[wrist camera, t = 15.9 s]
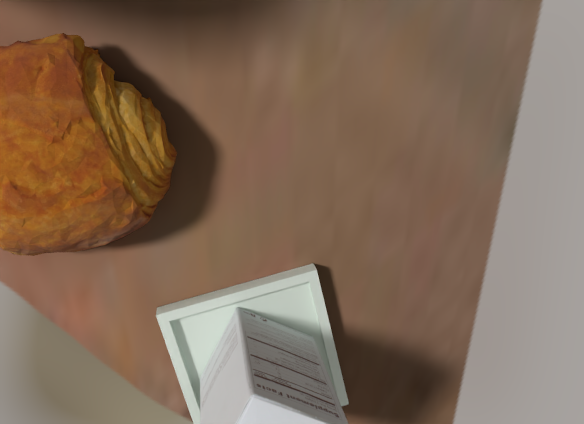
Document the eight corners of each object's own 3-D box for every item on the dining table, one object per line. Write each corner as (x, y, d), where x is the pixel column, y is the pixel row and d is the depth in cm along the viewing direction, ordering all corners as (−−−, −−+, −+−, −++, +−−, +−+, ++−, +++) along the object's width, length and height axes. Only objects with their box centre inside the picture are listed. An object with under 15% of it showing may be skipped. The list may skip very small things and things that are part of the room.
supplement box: (276, 406, 48) (301, 524, 36) (197, 377, 46) (195, 492, 34) (316, 335, 47) (356, 433, 35) (237, 302, 45) (249, 394, 33)
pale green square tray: (157, 307, 44) (155, 315, 43) (313, 263, 45) (316, 269, 44) (202, 437, 48) (202, 448, 47) (345, 394, 49) (349, 404, 48)
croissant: (185, 210, 45) (199, 241, 38) (-24, 256, 41) (-53, 301, 34) (145, 23, 40) (152, 18, 33) (-94, 56, 37) (-146, 58, 29)
